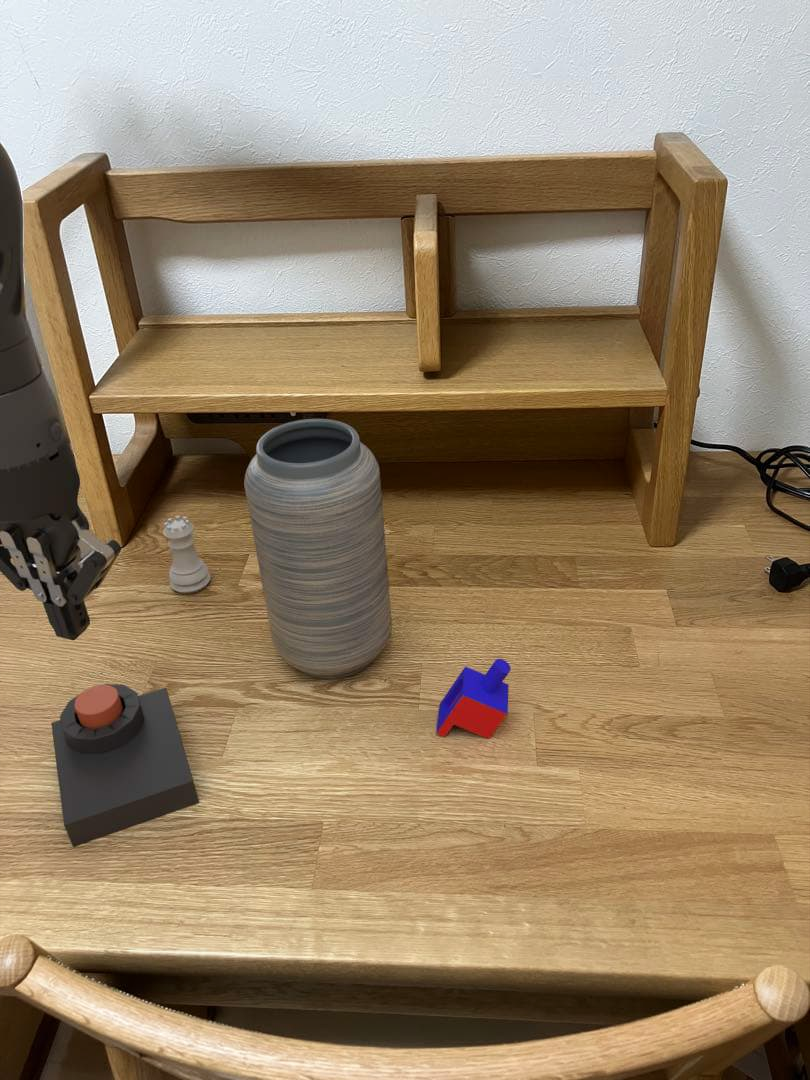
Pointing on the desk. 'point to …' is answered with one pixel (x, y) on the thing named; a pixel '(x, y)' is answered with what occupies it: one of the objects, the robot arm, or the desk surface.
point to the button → (98, 706)
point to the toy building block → (476, 701)
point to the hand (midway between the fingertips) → (73, 632)
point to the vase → (320, 546)
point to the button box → (121, 767)
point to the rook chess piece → (184, 558)
